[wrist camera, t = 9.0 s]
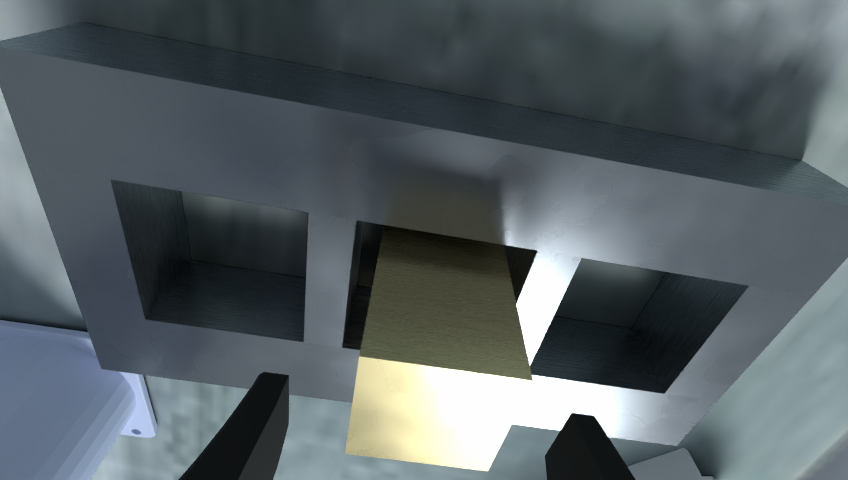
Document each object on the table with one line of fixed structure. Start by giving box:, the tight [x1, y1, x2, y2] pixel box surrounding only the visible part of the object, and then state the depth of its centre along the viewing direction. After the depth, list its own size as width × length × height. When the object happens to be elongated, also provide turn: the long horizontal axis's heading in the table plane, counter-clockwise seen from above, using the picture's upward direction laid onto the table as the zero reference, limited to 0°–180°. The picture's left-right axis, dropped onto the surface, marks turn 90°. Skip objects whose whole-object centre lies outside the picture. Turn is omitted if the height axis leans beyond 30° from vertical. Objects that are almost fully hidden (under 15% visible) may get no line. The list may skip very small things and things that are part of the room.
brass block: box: [345, 225, 533, 471], centre depth 14 cm, size 4×4×8 cm
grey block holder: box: [0, 22, 848, 446], centre depth 16 cm, size 24×12×4 cm, turn 80°
